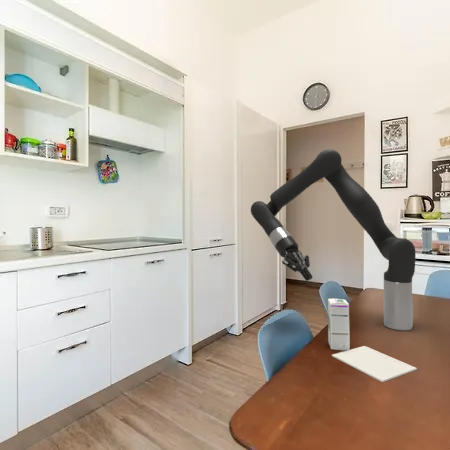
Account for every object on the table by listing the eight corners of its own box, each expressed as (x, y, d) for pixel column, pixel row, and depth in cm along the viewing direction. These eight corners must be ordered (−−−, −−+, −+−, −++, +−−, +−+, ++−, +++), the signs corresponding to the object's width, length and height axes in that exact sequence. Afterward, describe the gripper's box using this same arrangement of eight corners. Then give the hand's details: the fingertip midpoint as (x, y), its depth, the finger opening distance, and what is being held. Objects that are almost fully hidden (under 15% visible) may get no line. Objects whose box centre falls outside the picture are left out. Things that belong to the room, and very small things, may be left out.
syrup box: (350, 351, 90) (350, 303, 90) (329, 349, 91) (329, 302, 91) (346, 343, 95) (346, 298, 95) (327, 342, 97) (327, 297, 97)
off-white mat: (364, 347, 93) (364, 345, 93) (416, 369, 79) (416, 368, 79) (331, 356, 87) (331, 354, 87) (382, 382, 72) (382, 380, 72)
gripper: (276, 235, 106) (303, 274, 96) (300, 234, 113) (328, 270, 104) (265, 249, 110) (291, 288, 100) (289, 247, 118) (315, 283, 108)
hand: (309, 279), depth 102 cm, fingers closed
